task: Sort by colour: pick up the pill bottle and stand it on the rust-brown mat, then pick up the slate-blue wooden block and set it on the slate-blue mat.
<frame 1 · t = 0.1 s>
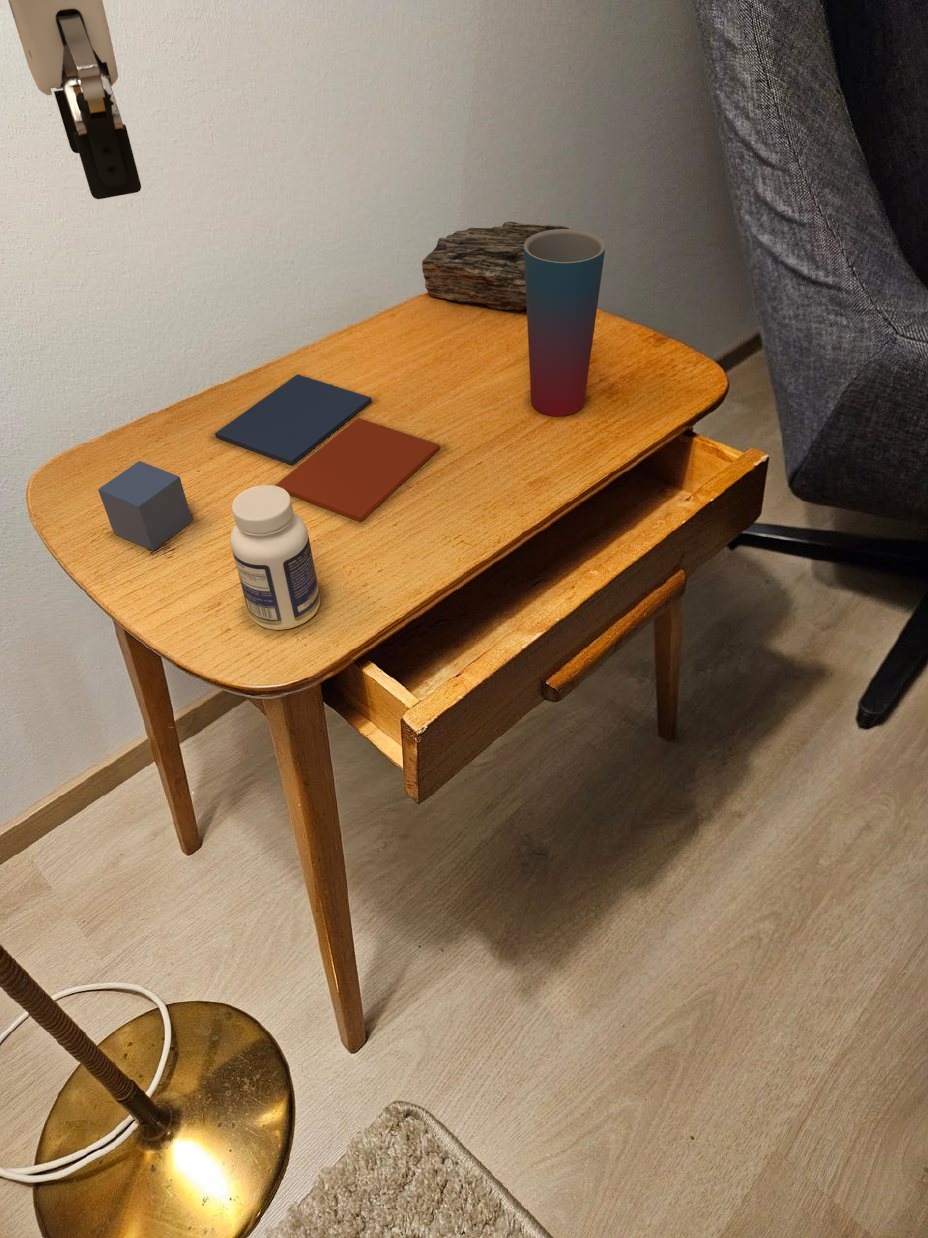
hand: (105, 170, 66), 25 cm above the table, tool pointing down, fingers open, 9 cm apart
rust mat: (359, 469, 84), on the table
pill bottle: (285, 608, 72), on the table
cup: (557, 403, 91), on the table
rock: (447, 227, 106), point 6 cm above the table
blue mat: (295, 419, 90), on the table
blue block: (153, 527, 79), on the table
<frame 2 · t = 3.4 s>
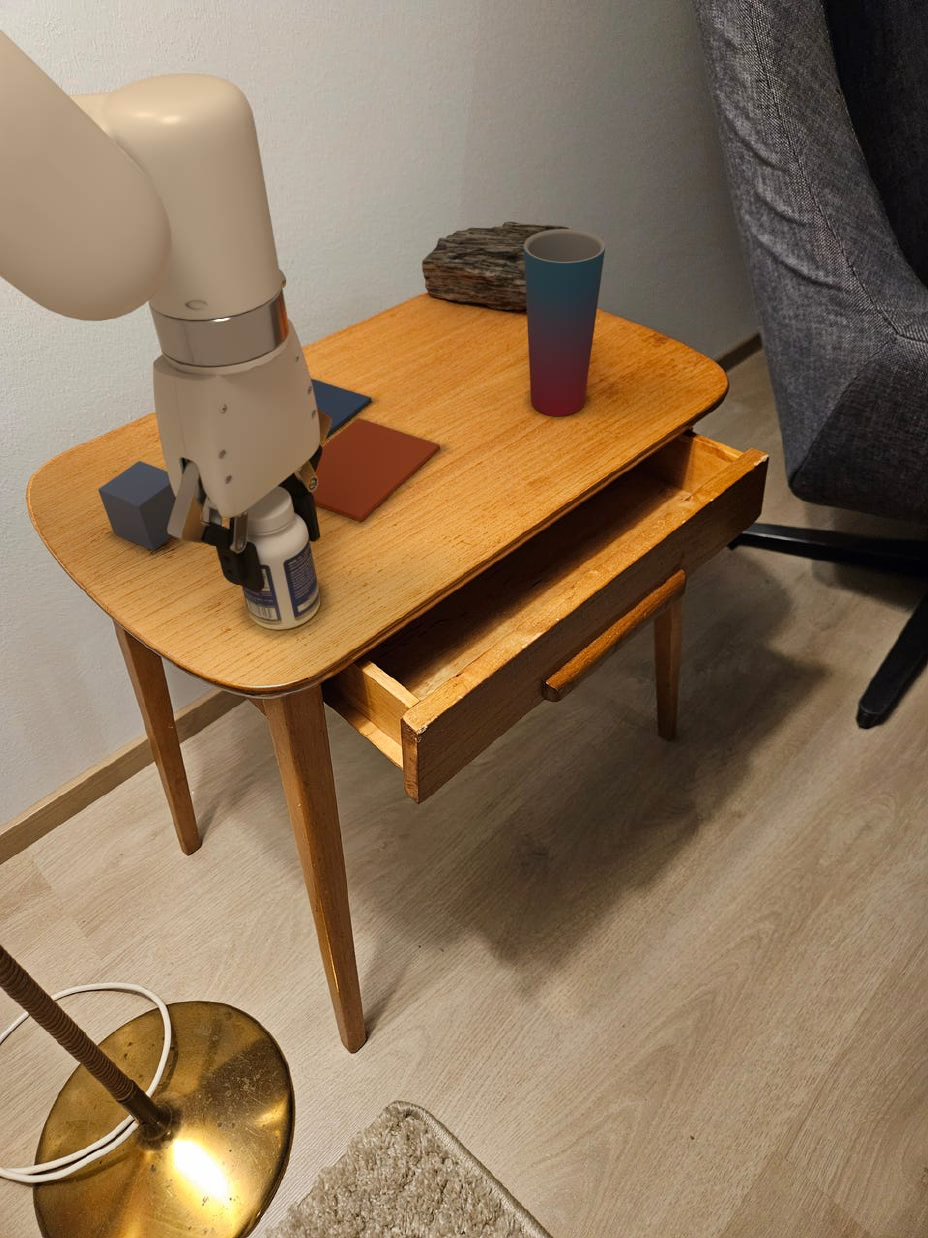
hand: (273, 556, 68), 5 cm above the table, tool pointing down, fingers closed on pill bottle, 5 cm apart
pill bottle: (285, 608, 72), on the table, touching gripper
everything else where it was.
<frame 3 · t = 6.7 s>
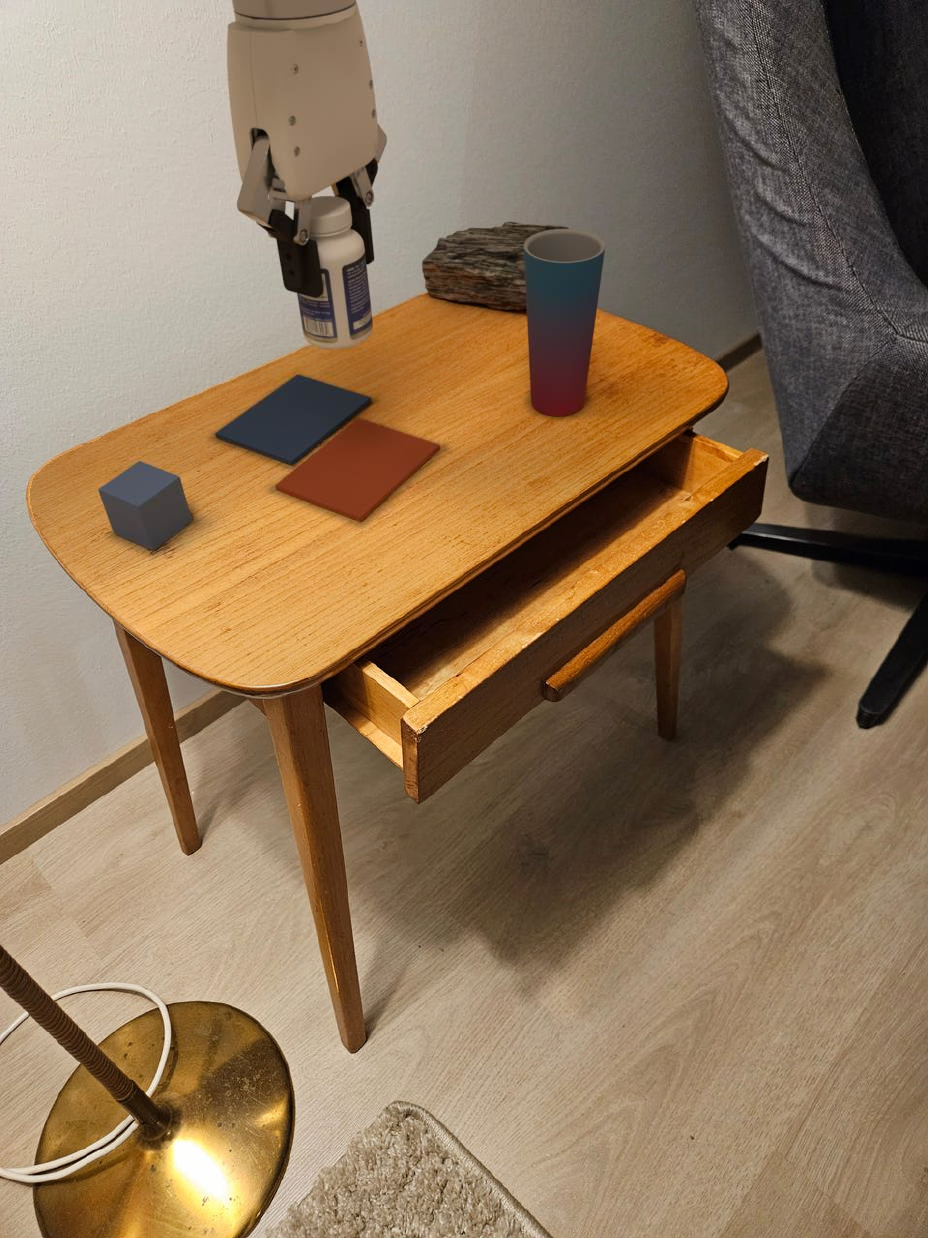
hand: (330, 273, 71), 18 cm above the table, tool pointing down, fingers closed on pill bottle, 5 cm apart
pill bottle: (338, 336, 74), point 13 cm above the table, touching gripper
everything else where it was.
when the fingers open (5 cm above the table, at t = 9.9 s): pill bottle stays where it is, resting on rust mat.
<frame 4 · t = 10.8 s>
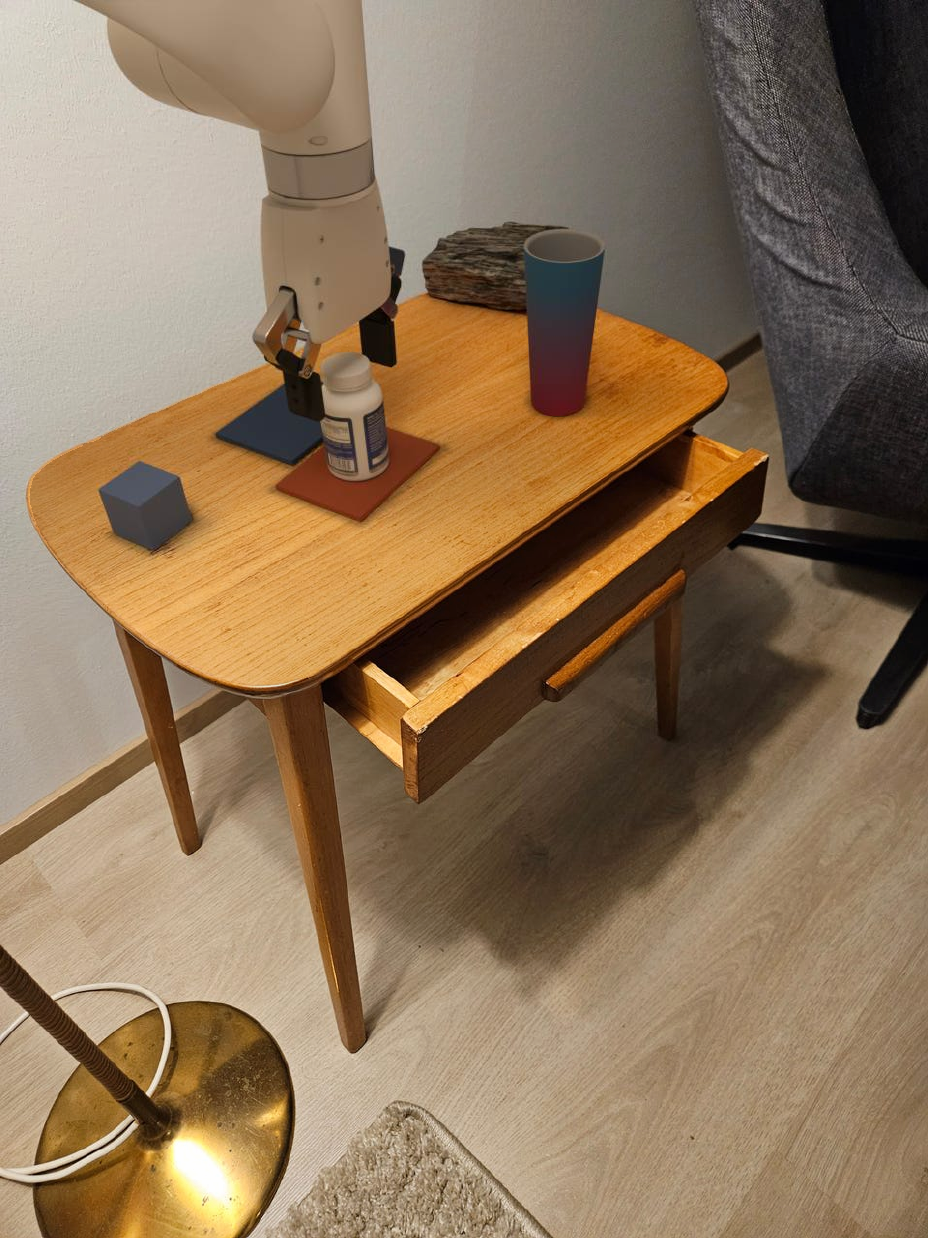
hand: (344, 388, 78), 8 cm above the table, tool pointing down, fingers open, 9 cm apart
pill bottle: (358, 466, 84), resting on rust mat
everything else where it was.
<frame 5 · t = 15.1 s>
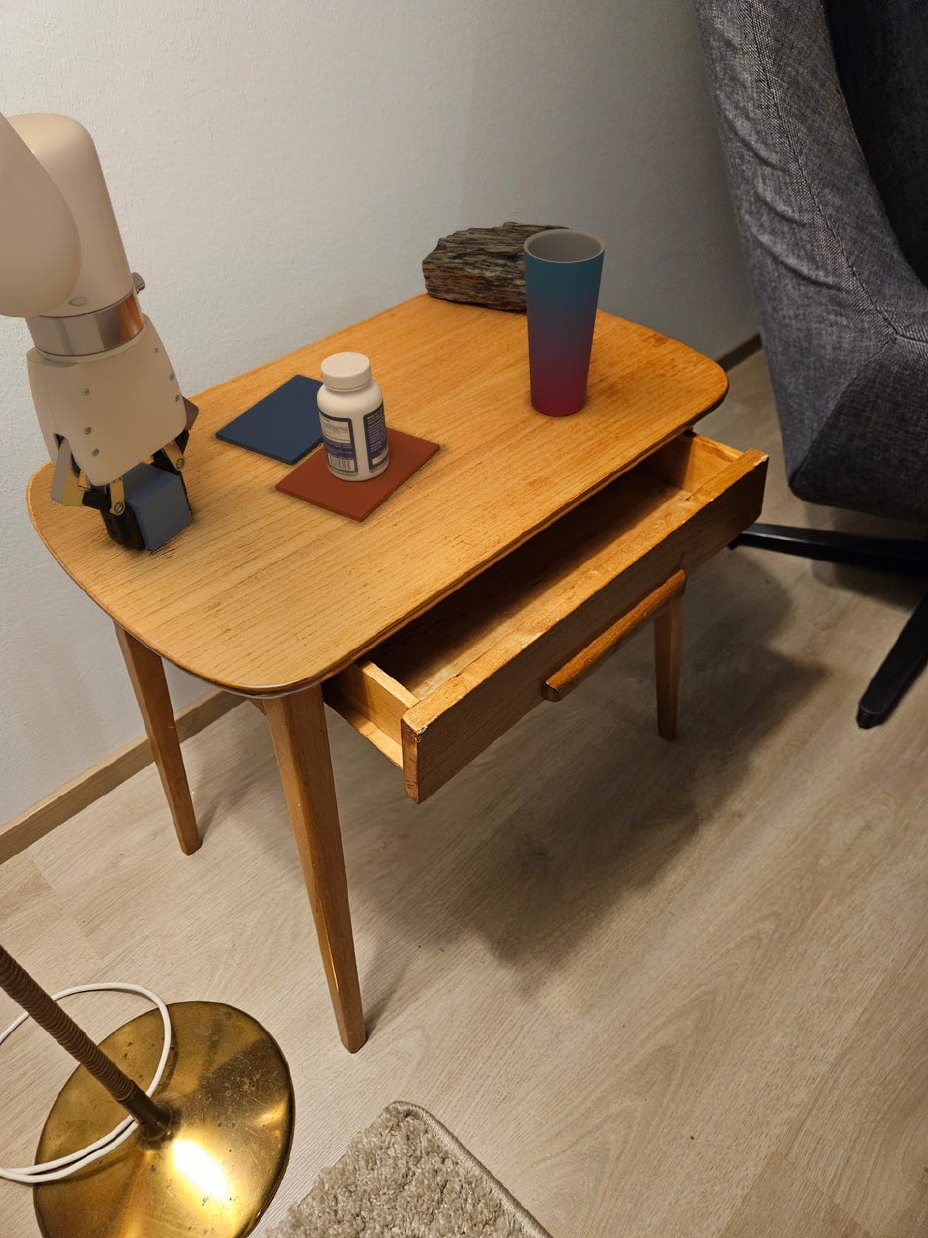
hand: (152, 523, 79), 0 cm above the table, tool pointing down, fingers closed on blue block, 4 cm apart
blue block: (153, 527, 79), on the table, touching gripper
everything else where it was.
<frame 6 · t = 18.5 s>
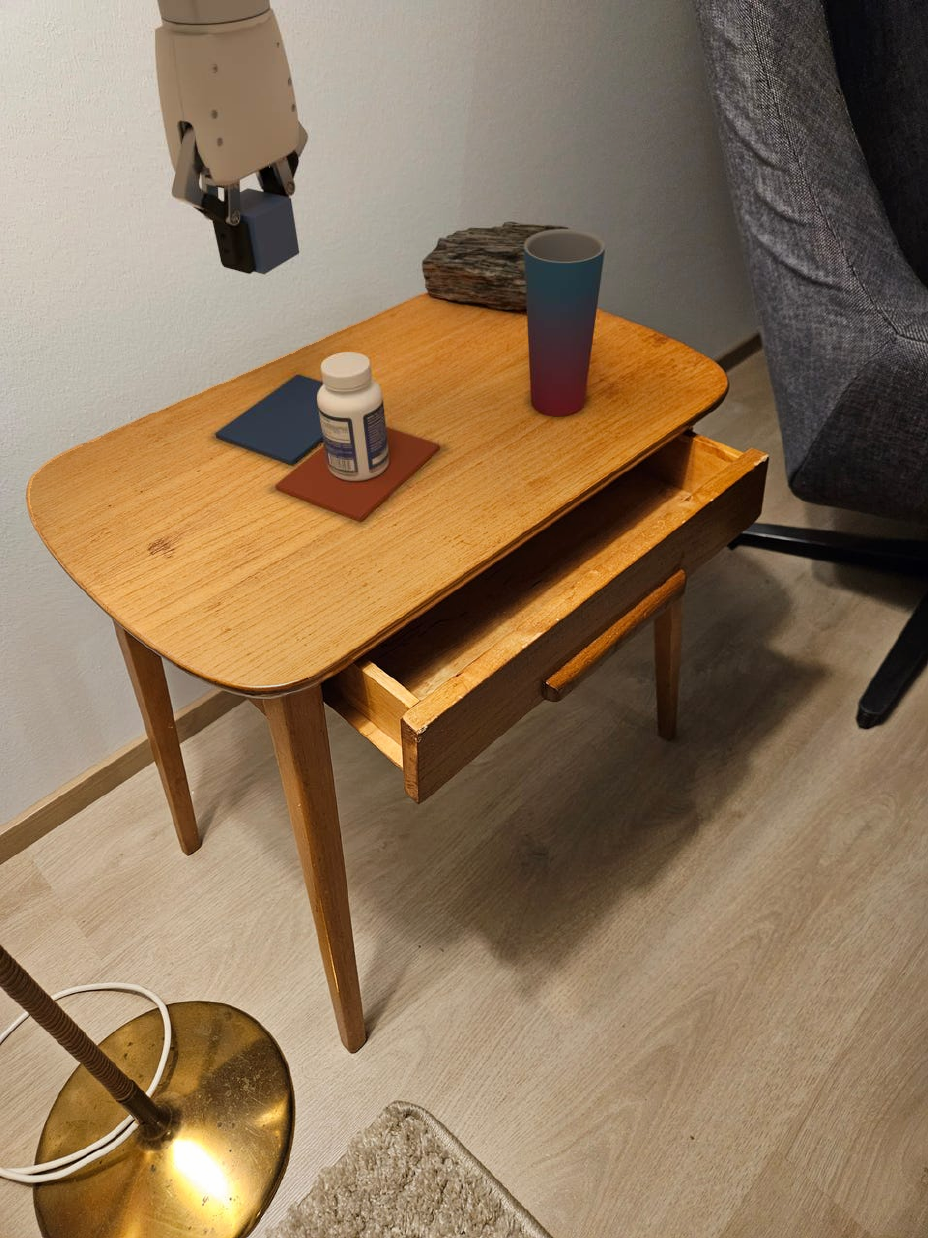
hand: (260, 254, 78), 16 cm above the table, tool pointing down, fingers closed on blue block, 4 cm apart
blue block: (261, 258, 79), point 16 cm above the table, touching gripper
everything else where it was.
when the fingers open (1 cm above the table, at t = 22.1 s): blue block stays where it is, resting on blue mat.
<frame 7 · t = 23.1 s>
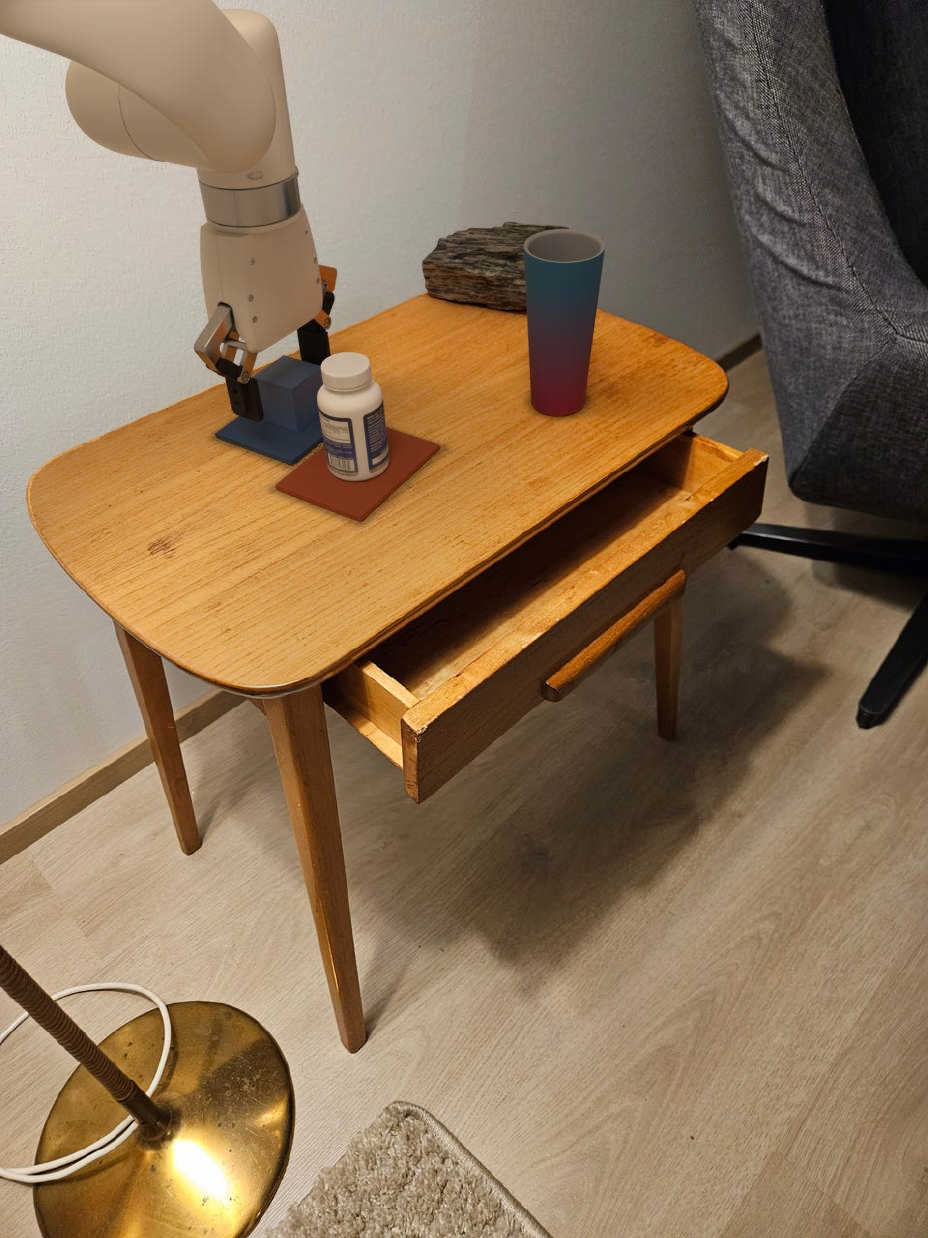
hand: (284, 391, 87), 3 cm above the table, tool pointing down, fingers open, 9 cm apart
blue block: (294, 414, 90), resting on blue mat
everything else where it was.
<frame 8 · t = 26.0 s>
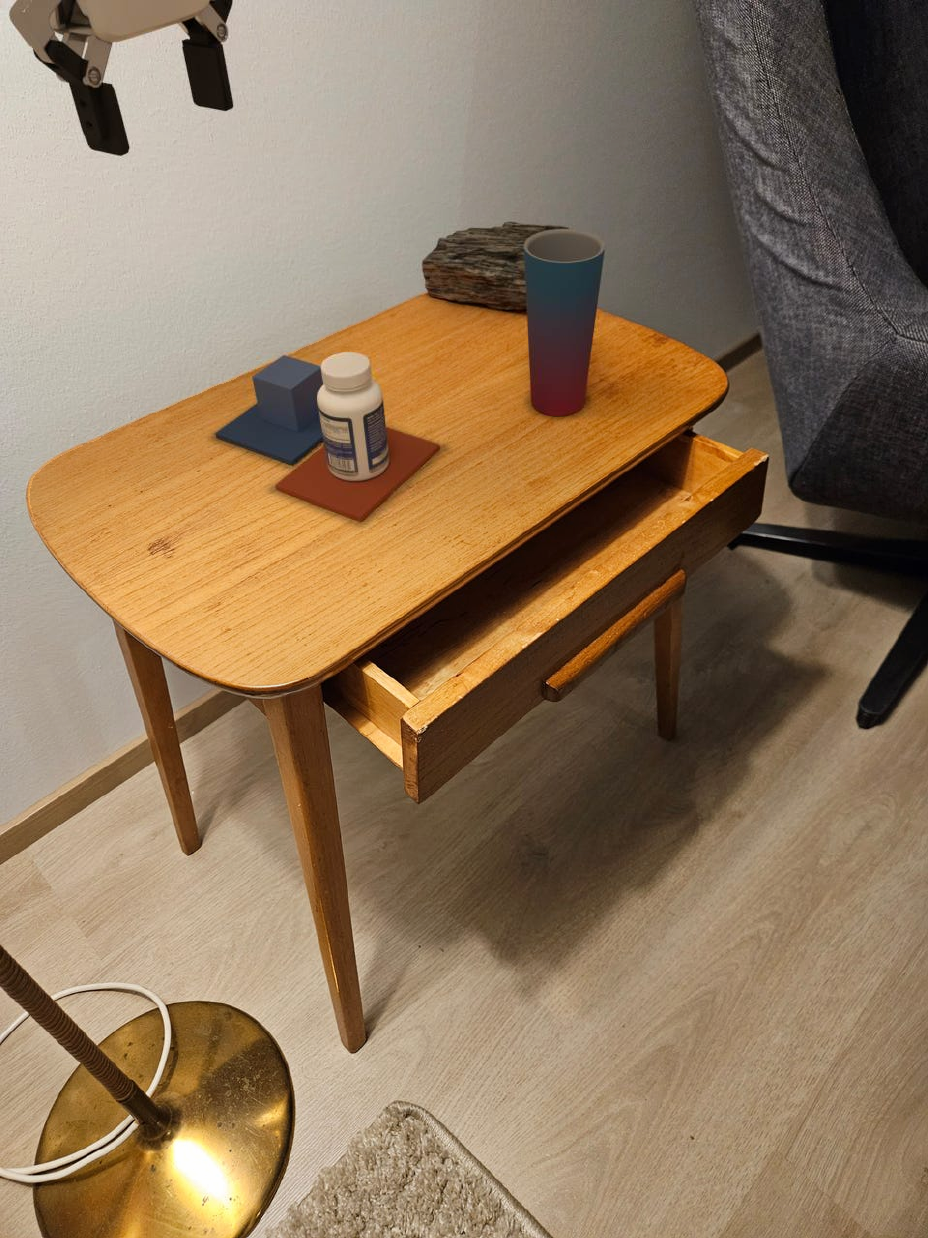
hand: (164, 128, 64), 28 cm above the table, tool pointing down, fingers open, 9 cm apart
nothing on the table moved.
at the end: pill bottle inside the target area on the rust mat (0.1 cm from its centre), point 0.3 cm above the rust mat's base; blue block inside the target area on the blue mat (0.0 cm from its centre), point 0.5 cm above the blue mat's base; pill bottle tilted 0° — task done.
